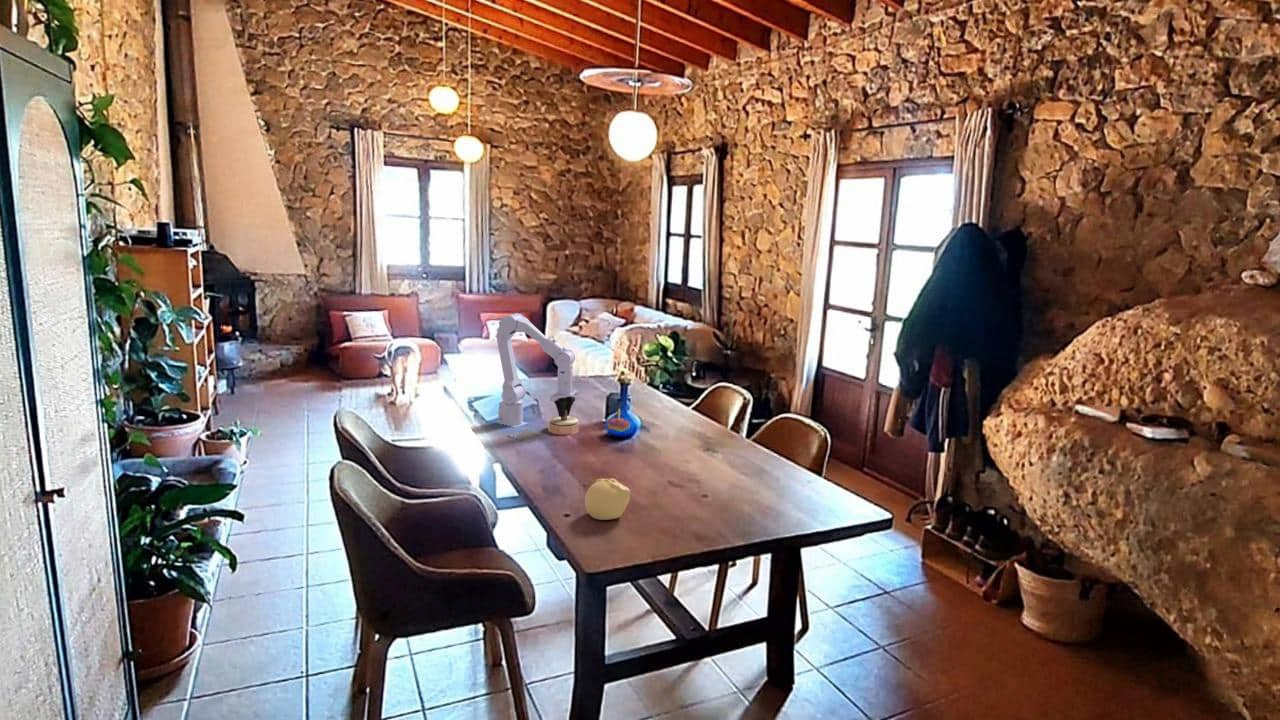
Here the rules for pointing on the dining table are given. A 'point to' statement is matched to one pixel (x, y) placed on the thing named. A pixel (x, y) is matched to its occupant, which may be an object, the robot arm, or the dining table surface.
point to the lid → (564, 420)
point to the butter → (607, 499)
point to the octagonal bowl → (563, 428)
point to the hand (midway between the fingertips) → (563, 415)
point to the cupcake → (619, 423)
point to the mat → (529, 435)
